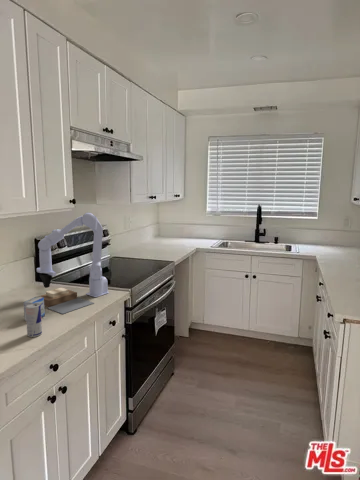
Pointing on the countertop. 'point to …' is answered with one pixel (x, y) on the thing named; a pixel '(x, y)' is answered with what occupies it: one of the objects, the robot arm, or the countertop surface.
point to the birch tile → (57, 292)
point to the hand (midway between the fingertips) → (46, 287)
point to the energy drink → (33, 320)
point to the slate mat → (70, 305)
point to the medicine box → (35, 300)
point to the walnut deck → (58, 298)
